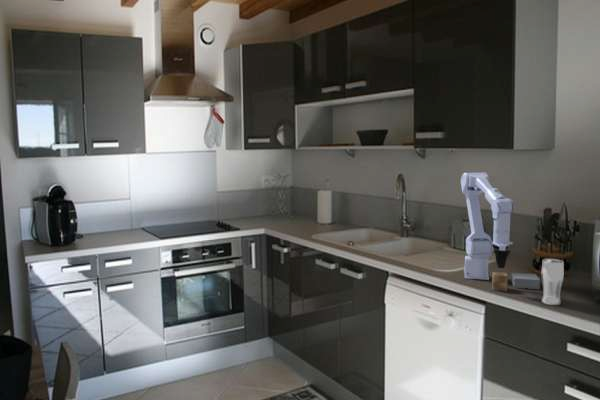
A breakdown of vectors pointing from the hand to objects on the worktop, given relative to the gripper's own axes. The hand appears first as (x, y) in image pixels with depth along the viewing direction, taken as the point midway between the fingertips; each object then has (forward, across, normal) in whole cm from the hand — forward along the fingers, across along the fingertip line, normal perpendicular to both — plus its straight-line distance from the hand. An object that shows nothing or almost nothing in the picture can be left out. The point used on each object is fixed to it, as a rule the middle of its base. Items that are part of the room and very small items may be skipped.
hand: (500, 265), depth 196 cm
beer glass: (+10, -13, -16) cm, 23 cm away
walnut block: (+9, 0, 0) cm, 9 cm away
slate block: (+10, +8, -10) cm, 16 cm away
